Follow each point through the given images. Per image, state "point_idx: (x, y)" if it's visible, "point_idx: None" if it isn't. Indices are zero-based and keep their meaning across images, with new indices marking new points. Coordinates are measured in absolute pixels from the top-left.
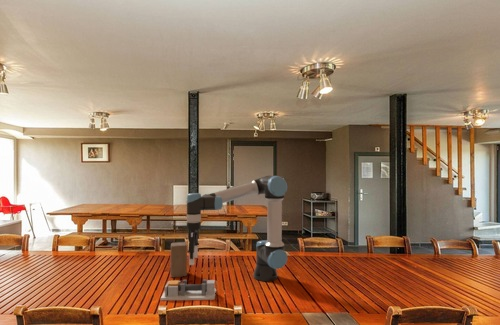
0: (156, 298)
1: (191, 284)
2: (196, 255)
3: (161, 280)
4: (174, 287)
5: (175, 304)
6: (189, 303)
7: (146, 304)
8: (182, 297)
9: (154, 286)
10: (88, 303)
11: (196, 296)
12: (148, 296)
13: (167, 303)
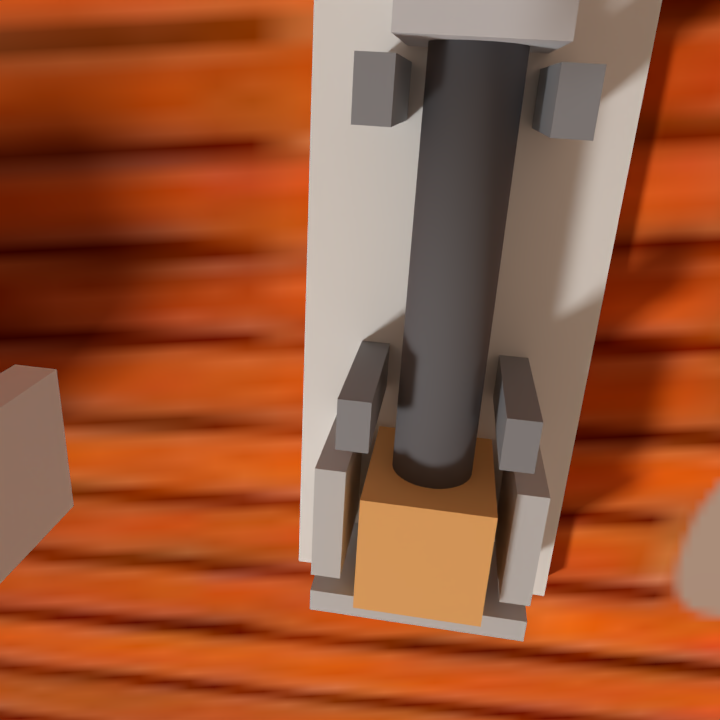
0: None
1: (446, 311)
2: (19, 430)
3: (12, 597)
4: (541, 532)
5: (689, 434)
6: (705, 280)
7: (613, 682)
8: (578, 379)
9: (173, 645)
10: None
11: (581, 203)
12: (420, 677)
13: (638, 513)
